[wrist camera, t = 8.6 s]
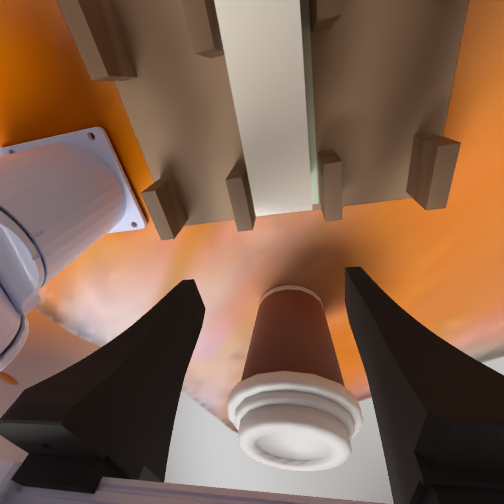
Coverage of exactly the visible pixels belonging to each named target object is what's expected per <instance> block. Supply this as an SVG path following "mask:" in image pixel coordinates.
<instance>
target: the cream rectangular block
mask: <svg viewBox="0 0 504 504" xmlns="http://www.w3.org/2000/svg"><path fill="white" fill-rule="evenodd" d="M214 2H215V7H216V13H217V18H218V23H219V28H220V33H221V39H222V44H223V49H224V54H225V59H226V65H227V70H228V75H229V80H230V85H231V90H232V96H233V101H234V106H235V111H236V116H237V122H238V127H239V132H240V137H241V142H242V148H243V153H244V158H245V163H246V168H247V173H248V179H249V184H250V189H251V194H252V199H253V205H254V210H255V215H256V217H258V216H266V215H274V214H283V213H291V212H300V211H308V210H313V209H312V193H311V177H310V160H309V144H308V128H307V112H306V95H305V79H304V63H303V47H302V31H301V14H300V0H214Z"/></svg>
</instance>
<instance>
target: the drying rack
mask: <svg viewBox="0 0 504 504" xmlns="http://www.w3.org/2000/svg"><path fill="white" fill-rule="evenodd" d="M56 1H57V3H58V5H59V7H60V10H61V12H62V14H63V17H64V19H65V21H66V23H67V26H68V28H69V30H70V33H71V35H72V37H73V39H74V42H75V44H76V46H77V49H78V51H79V53H80V55H81V58H82V60H83V62H84V65H85V67H86V69H87V71H88V74H89V76H90V78H91V81H114V83H115V86H116V88H117V91H118V93H119V96H120V98H121V101H122V103H123V106H124V108H125V111H126V113H127V116H128V118H129V121H130V123H131V126H132V128H133V131H134V133H135V136H136V138H137V141H138V143H139V146H140V148H141V151H142V153H143V156H144V158H145V161H146V163H147V166H148V168H149V171H150V173H151V176H152V178H153V181H154V183H153V184H152V185H151V186H149V187H148V188H147V189H145V190H144V191H143V192H141V195H142V197H143V199H144V202H145V204H146V206H147V208H148V211H149V213H150V215H151V218H152V220H153V222H154V224H155V227H156V229H157V231H158V234H159V236H160V238H161V240H168V239H175V237H176V236H177V234H178V233H179V232H180V230H181V229H182V227H183V226H187V225H196V224H204V223H212V222H220V221H228V220H235V222H236V226H237V230H238V231H247V230H253V227H254V222H255V218H256V215H255V210H254V205H253V199H252V194H251V189H250V184H249V179H248V173H247V168H246V163H245V158H244V153H243V148H242V142H241V137H240V132H239V127H238V122H237V116H236V111H235V106H234V101H233V96H232V90H231V85H230V80H229V75H228V70H227V65H226V59H225V54H224V49H223V44H222V39H221V33H220V28H219V23H218V18H217V13H216V7H215V2H214V0H56ZM468 4H469V0H300V14H301V31H302V47H303V63H304V79H305V95H306V112H307V128H308V144H309V160H310V177H311V193H312V209H313V210H317V209H322V211H323V215H324V219H325V222H327V221H335V220H342V206H350V205H358V204H366V203H374V202H383V201H391V200H399V199H407V198H413V199H414V200H415V201H416V202H418V203H419V204H420V205H421V206H422V207H423V208H424V209H425V210H433V209H442V208H446V204H447V200H448V196H449V191H450V187H451V183H452V178H453V174H454V170H455V166H456V161H457V157H458V153H459V148H460V144H461V143H460V142H457V141H454V140H451V139H448V138H445V137H443V132H444V127H445V121H446V116H447V111H448V106H449V101H450V96H451V91H452V86H453V80H454V75H455V70H456V65H457V60H458V55H459V50H460V45H461V39H462V34H463V29H464V24H465V19H466V14H467V9H468ZM308 211H309V210H308ZM300 212H301V211H300ZM291 213H293V212H291ZM283 214H285V213H283ZM274 215H277V214H274ZM266 216H269V215H266ZM258 217H261V216H258Z"/></svg>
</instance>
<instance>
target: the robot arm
mask: <svg viewBox="0 0 504 504" xmlns="http://www.w3.org/2000/svg"><path fill="white" fill-rule="evenodd" d="M91 133H93V134H94V136H95V139H94V138H93V137H92V136H91ZM14 152H15V153H14ZM134 222H135V223H136V224H137V225H135V224H134ZM146 225H147V221H146V219H145V217H144V215H143V213H142V210H141V208H140V206H139V204H138V202H137V199H136V197H135V195H134V193H133V191H132V188H131V186H130V184H129V182H128V179H127V177H126V175H125V173H124V171H123V168H122V166H121V164H120V162H119V160H118V157H117V155H116V153H115V151H114V149H113V146H112V144H111V142H110V140H109V138H108V135H107V133H106V132H105V130H104V129H103V128H101V127H93V128H88V129H84V130H79V131H75V132H70V133H66V134H61V135H57V136H52V137H48V138H43V139H39V140H34V141H30V142H25V143H21V144H16V145H12V146H8V147H3V148H0V372H1V371H2V370H3V369H4V368H5V367H6V366H7V365H8V364H9V363H10V362H11V361H12V360H13V359H14V358H15V357H16V355H17V354H18V353H19V351H20V350H21V349H22V347H23V345H24V343H25V342H26V339H27V336H28V333H29V325H28V320H27V318H26V317H25V315H26V314H27V313H29V312H30V311H31V310H32V309H33V308H34V307H35V306H36V305H38V304H39V303H40V302H41V299H40V297H39V289H40V288H41V287H43V286H44V285H45V284H46V283H47V282H49V281H50V280H51V279H52V278H53V277H55V276H56V275H57V274H58V273H59V272H61V271H62V270H63V269H64V268H65V267H67V266H68V265H69V264H70V263H71V262H73V261H74V260H75V259H76V258H77V257H79V256H80V255H81V254H82V253H83V252H85V251H86V250H87V249H88V248H89V247H91V246H92V245H93V244H94V243H95V242H97V241H98V240H99V239H100V238H101V237H103V236H104V235H105V234H106V233H113V232H121V231H129V230H137V229H143V228H145V227H146ZM345 304H346V309H347V314H348V319H349V323H350V326H351V329H352V332H353V335H354V338H355V341H356V344H357V347H358V350H359V353H360V356H361V359H362V362H363V365H364V368H365V371H366V375H367V378H368V382H369V387H370V391H371V395H372V400H373V404H374V408H375V413H376V418H377V422H378V427H379V431H380V436H381V441H382V446H383V451H384V456H385V460H386V465H387V470H388V476H389V481H390V486H391V491H392V496H393V501H394V504H504V375H502V374H500V373H498V372H496V371H495V370H493V369H491V368H489V367H487V366H486V365H484V364H482V363H480V362H479V361H477V360H475V359H473V358H472V357H470V356H468V355H467V354H465V353H463V352H462V351H460V350H459V349H457V348H456V347H454V346H452V345H451V344H449V343H448V342H446V341H445V340H443V339H441V338H440V337H438V336H437V335H436V334H434V333H433V332H431V331H430V330H429V329H427V328H426V327H425V326H423V325H422V324H421V323H419V322H418V321H417V320H415V319H414V318H413V317H412V316H411V315H409V314H408V313H407V312H406V311H405V310H403V309H402V308H401V307H400V306H399V305H398V304H397V303H396V302H394V301H393V300H392V299H391V298H390V297H389V296H388V295H387V294H386V293H385V292H384V291H383V290H382V289H381V288H380V287H379V286H378V285H377V284H376V283H375V282H374V281H373V280H372V279H371V278H370V277H369V275H368V274H367V273H366V272H365V271H364V270H363V269H362V268H361V267H347V268H345ZM204 314H205V306H204V304H203V301H202V299H201V296H200V294H199V291H198V289H197V286H196V283H195V281H194V279H192V280H182V281H181V282H180V283H179V284H178V285H176V286H175V287H174V288H173V289H172V290H171V291H170V292H169V293H168V294H167V295H166V296H165V297H164V298H162V299H161V300H160V301H159V302H158V303H157V304H156V305H155V306H154V307H153V308H152V309H151V310H149V311H148V312H147V313H146V314H145V315H144V316H142V317H141V318H140V319H139V320H138V321H137V322H135V323H134V324H133V325H132V326H131V327H129V328H128V329H127V330H125V331H124V332H123V333H121V334H120V335H119V336H117V337H116V338H115V339H113V340H112V341H110V342H109V343H107V344H106V345H104V346H103V347H101V348H100V349H98V350H97V351H95V352H94V353H92V354H91V355H89V356H87V357H86V358H84V359H82V360H81V361H79V362H77V363H75V364H74V365H72V366H70V367H68V368H67V369H65V370H63V371H61V372H59V373H57V374H55V375H53V376H52V377H49V378H47V379H45V380H43V381H42V382H39V383H38V384H35V385H33V386H31V387H30V388H27V389H25V390H24V391H23V392H22V394H21V395H20V396H19V397H18V399H17V400H16V401H15V402H14V403H13V404H12V406H11V407H10V408H9V409H8V410H7V412H6V413H5V414H4V415H3V416H2V417H1V418H0V435H1V436H3V437H4V438H6V439H7V440H9V441H10V442H12V443H14V444H15V445H17V446H18V447H20V448H21V449H23V450H24V451H26V452H27V453H29V454H28V456H27V457H26V459H25V460H24V462H23V463H22V462H19V461H15V460H7V459H0V504H384V503H373V502H363V501H352V500H341V499H331V498H321V497H310V496H300V495H289V494H279V493H268V492H258V491H247V490H237V489H225V488H215V487H204V486H194V485H184V484H173V483H164V479H165V472H166V465H167V459H168V453H169V446H170V441H171V435H172V430H173V425H174V420H175V415H176V411H177V406H178V402H179V397H180V393H181V389H182V385H183V381H184V377H185V374H186V371H187V368H188V365H189V362H190V359H191V357H192V354H193V351H194V348H195V345H196V343H197V340H198V337H199V334H200V331H201V328H202V324H203V319H204Z"/></svg>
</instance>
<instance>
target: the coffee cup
mask: <svg viewBox="0 0 504 504" xmlns="http://www.w3.org/2000/svg"><path fill="white" fill-rule="evenodd" d="M227 407H228V417H229V419H230V420H231V421H232V423H233V424H234V425H235V427H236V429H237V430H238V431H239V432H238V442H239V446H240V447H241V448H242V449H243V450H244V451H245V453H246V454H247V455H248V456H250V457H252V458H254V459H256V460H258V461H259V462H261V463H264V464H268V465H271V466H274V467H277V468H282V469H290V470H296V471H318V470H324V469H330V468H334V467H336V466H338V465H340V464H342V463H344V462H345V461H346V460H347V458H348V456H349V455H350V453H351V451H352V449H351V443H350V441H351V439H352V437H354V436H356V435H357V433H358V431H359V429H360V427H361V426H362V424H363V417H362V413H361V409H360V406H359V403H358V400H357V397H356V396H355V395H354V394H352V393H351V392H350V391H349V390H347V389H346V388H345V386H344V382H343V379H342V375H341V371H340V368H339V364H338V360H337V357H336V353H335V349H334V346H333V342H332V338H331V335H330V331H329V327H328V324H327V320H326V317H325V313H324V307H323V304H322V301H321V299H320V297H319V296H318V295H317V294H315V293H314V292H313V291H312V290H310V289H307V288H305V287H303V286H299V285H283V286H278V287H274V288H273V289H271V290H270V291H268V292H266V293H265V294H264V296H263V297H262V299H261V300H260V303H259V309H258V313H257V317H256V321H255V326H254V330H253V334H252V338H251V342H250V346H249V351H248V355H247V359H246V363H245V367H244V372H243V376H242V380H241V382H238V383H237V385H236V386H235V387H234V389H233V390H232V391H231V392H230V394H229V397H228V402H227Z"/></svg>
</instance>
